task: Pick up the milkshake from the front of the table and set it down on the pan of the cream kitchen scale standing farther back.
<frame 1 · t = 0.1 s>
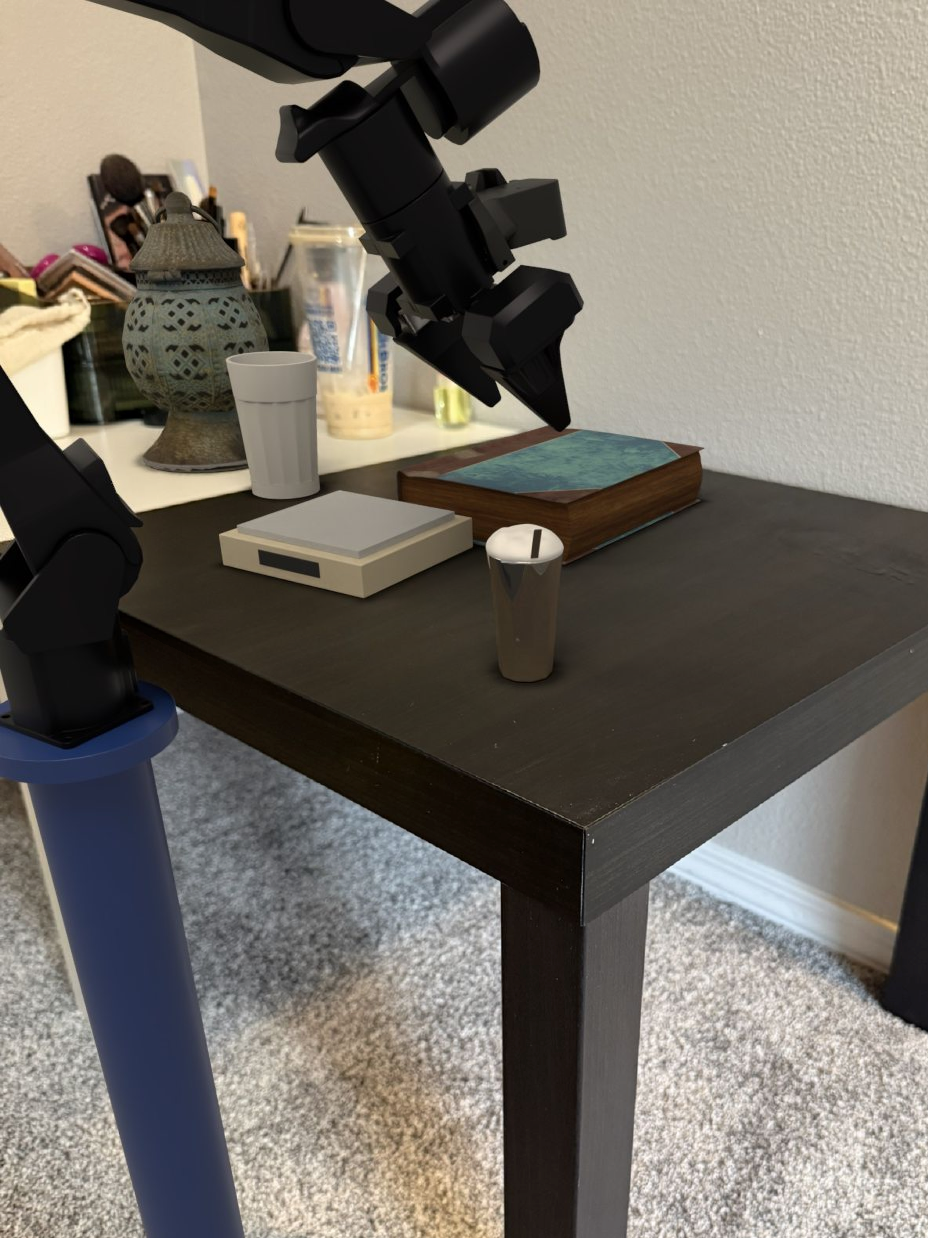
hand: (528, 414, 73), 13 cm above the table, tool tilted 30°, fingers open, 9 cm apart
scale: (351, 556, 87), on the table
milkshake: (527, 677, 67), on the table
lantern: (212, 457, 115), on the table
book: (557, 515, 98), on the table
cup: (286, 491, 104), on the table
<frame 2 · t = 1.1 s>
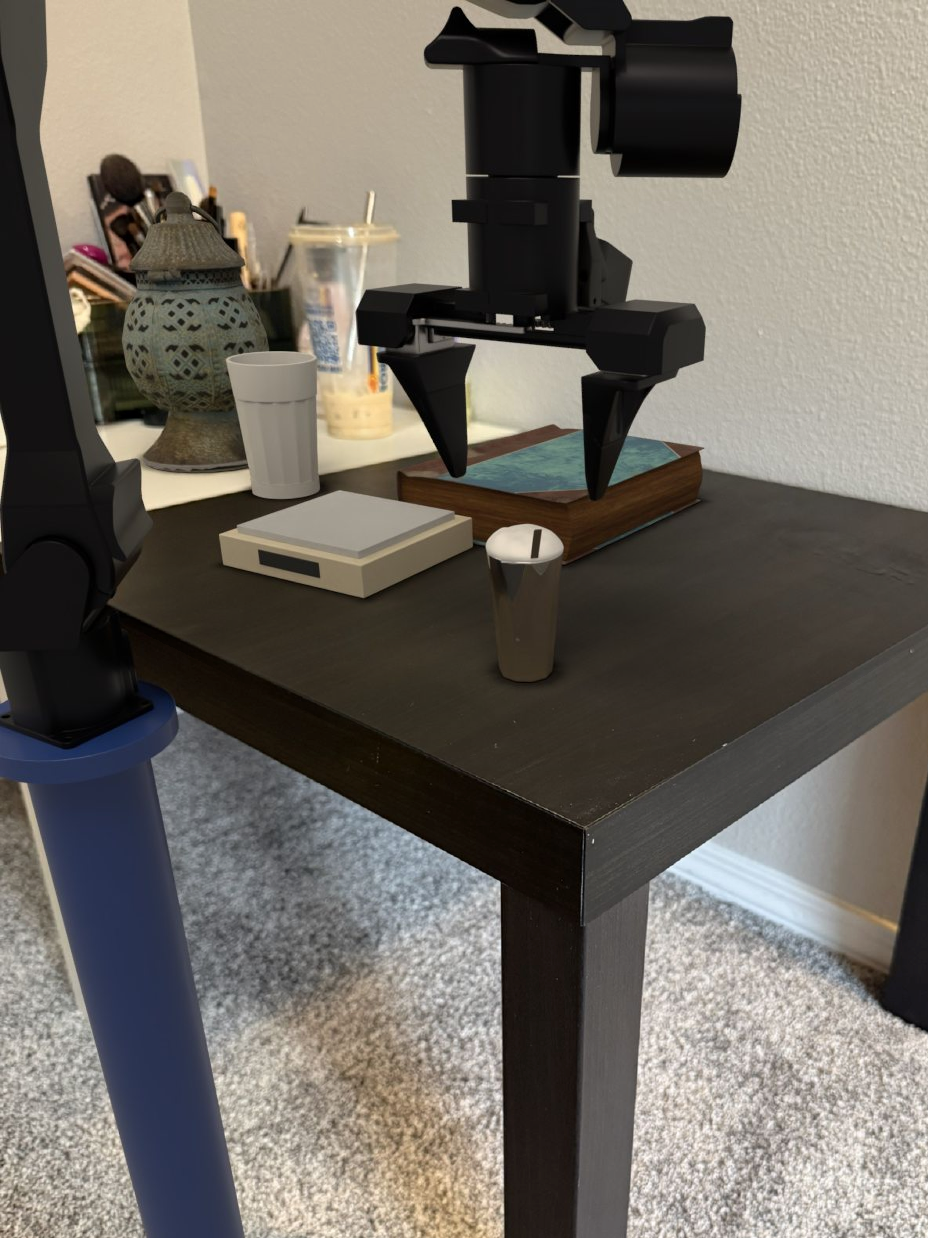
hand: (525, 487, 62), 12 cm above the table, tool pointing down, fingers open, 9 cm apart
nothing on the table moved.
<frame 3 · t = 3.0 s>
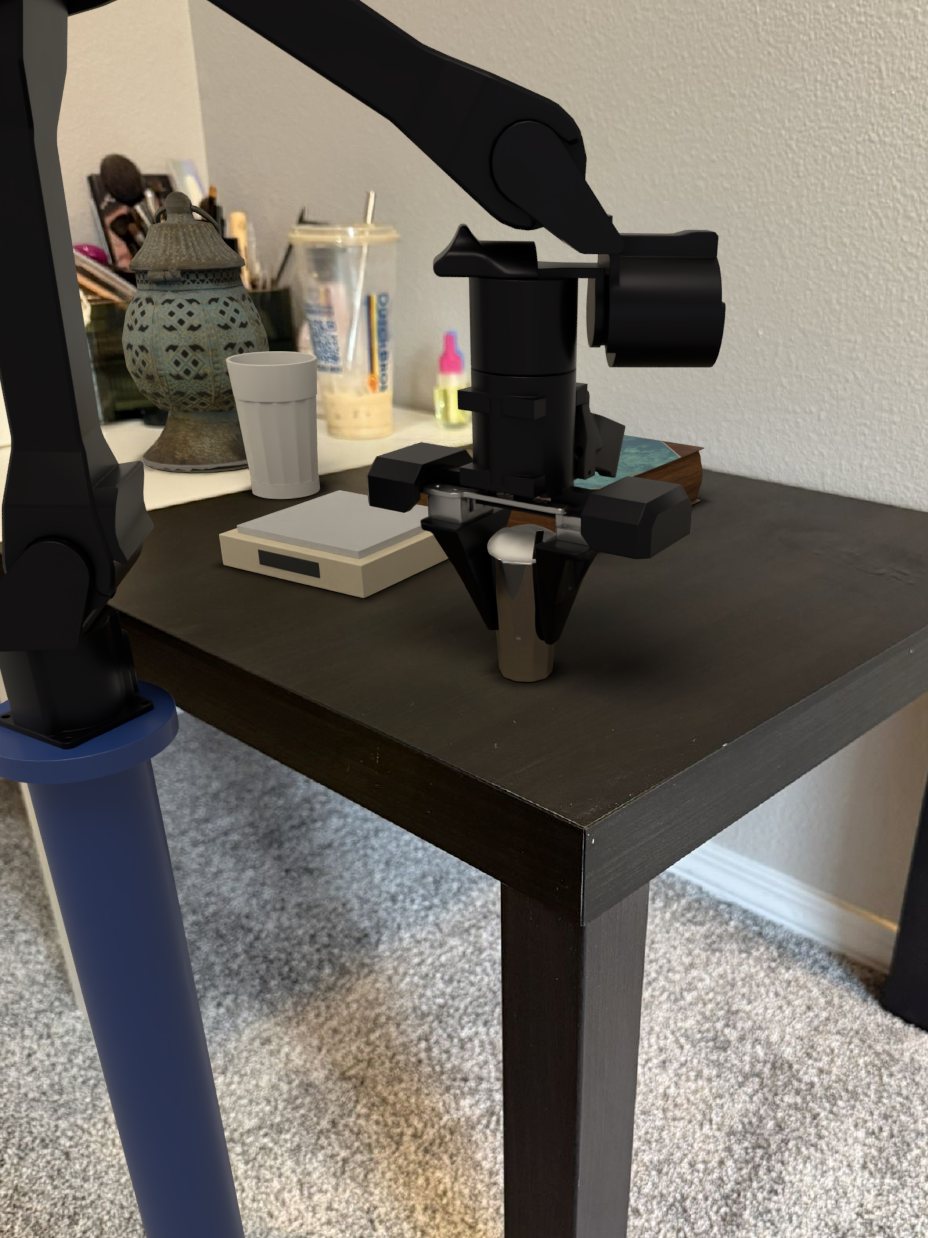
hand: (523, 635, 66), 3 cm above the table, tool pointing down, fingers closed on milkshake, 4 cm apart
milkshake: (527, 677, 67), on the table, touching gripper
everything else where it was.
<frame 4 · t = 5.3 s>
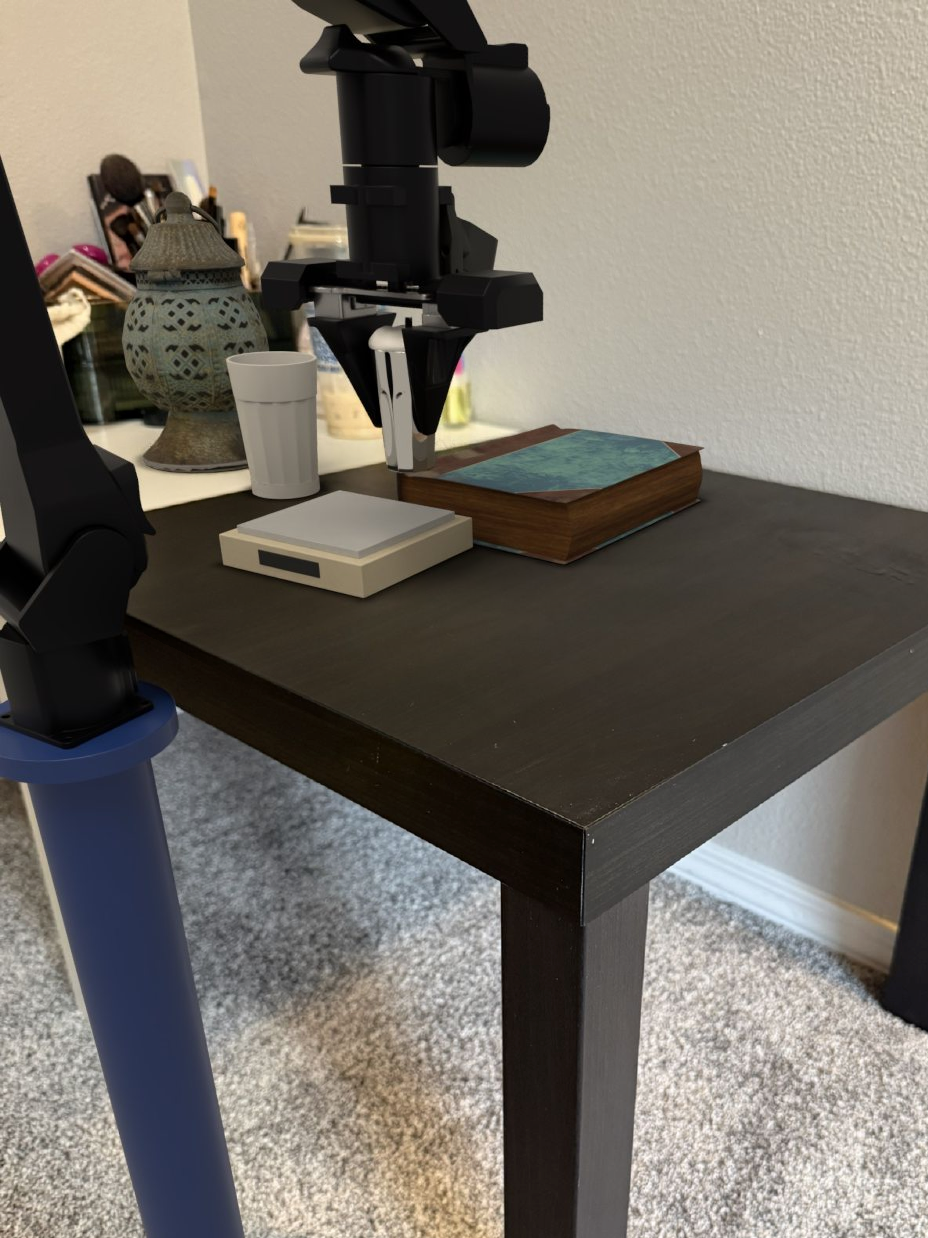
hand: (405, 430, 73), 12 cm above the table, tool pointing down, fingers closed on milkshake, 4 cm apart
milkshake: (411, 471, 74), point 9 cm above the table, touching gripper
everything else where it was.
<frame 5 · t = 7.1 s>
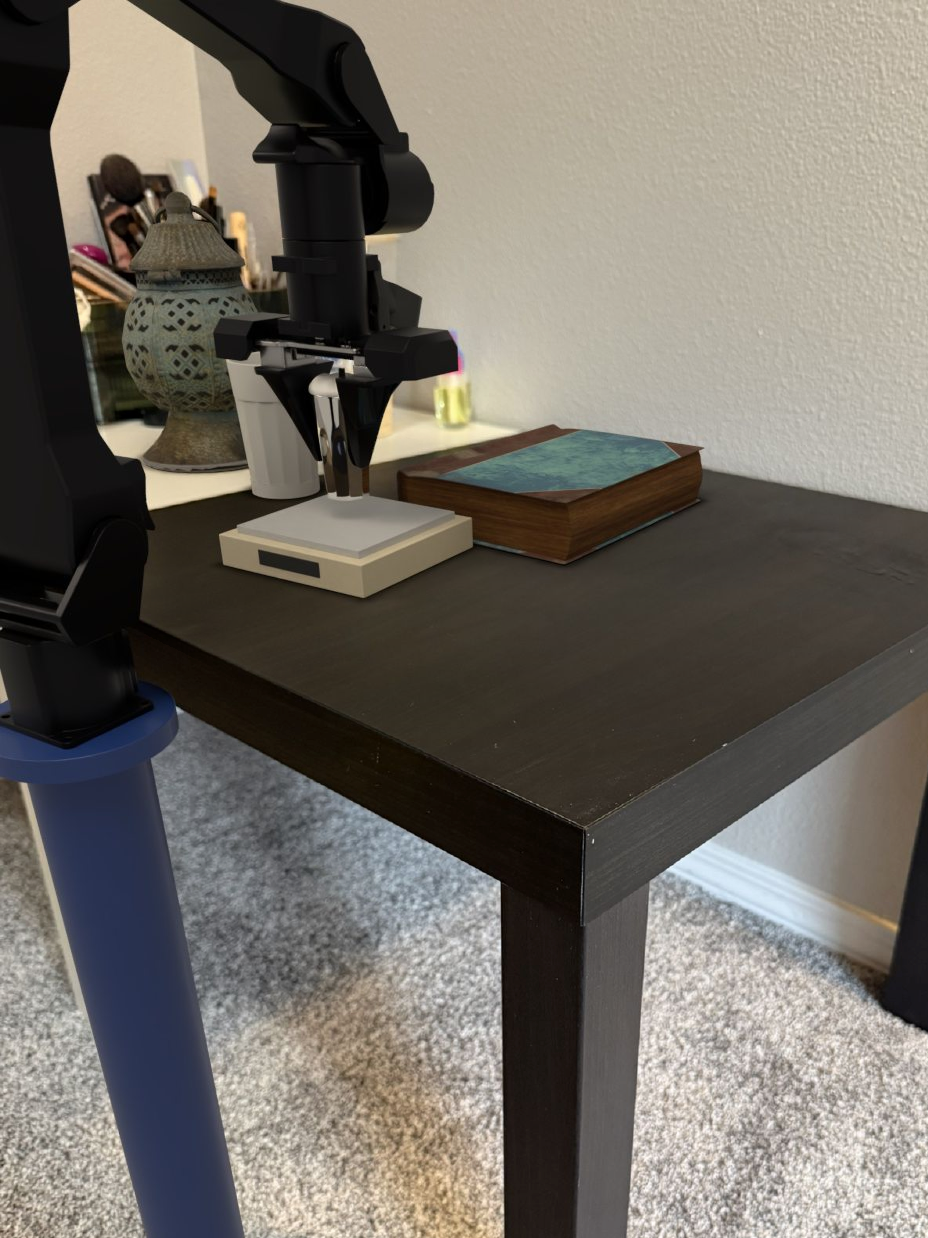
hand: (342, 463, 83), 7 cm above the table, tool pointing down, fingers closed on milkshake, 4 cm apart
milkshake: (349, 499, 84), point 5 cm above the table, touching gripper
everything else where it was.
when the fingers open (6 cm above the table, at t = 8.0 s): milkshake stays where it is, resting on scale.
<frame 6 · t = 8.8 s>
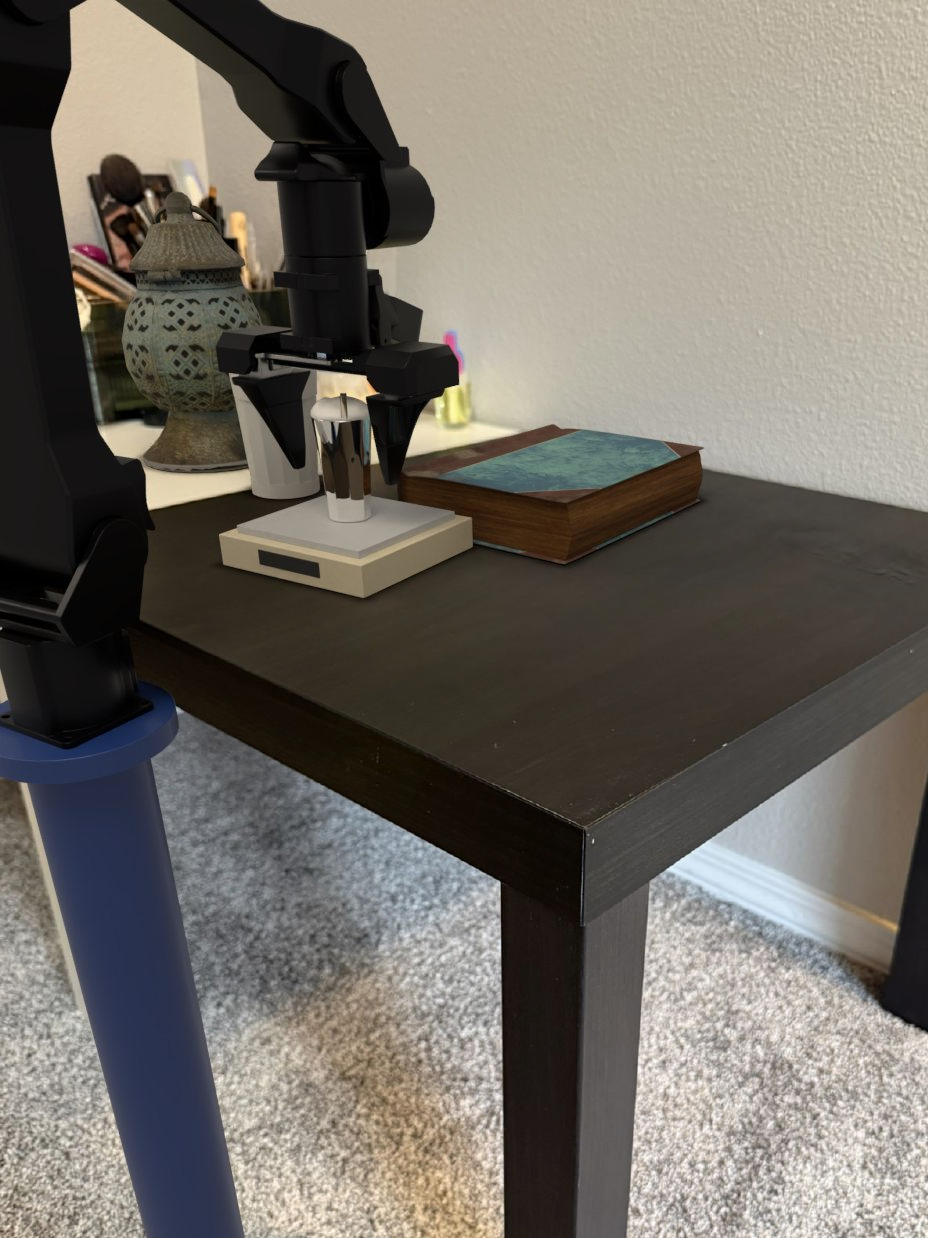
hand: (344, 476, 84), 6 cm above the table, tool pointing down, fingers open, 9 cm apart
milkshake: (350, 521, 85), point 3 cm above the table, touching scale
everything else where it was.
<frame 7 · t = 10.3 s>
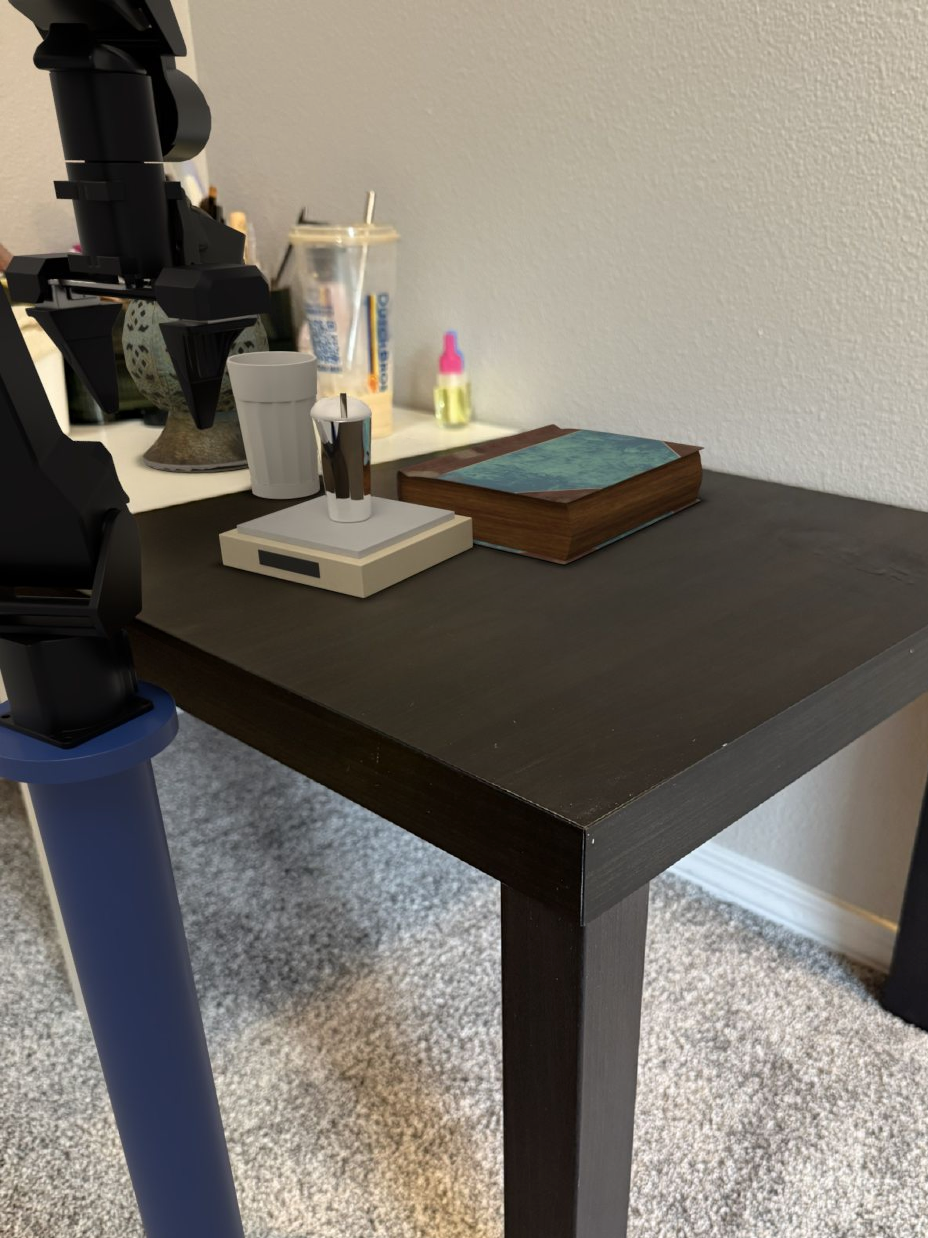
hand: (157, 420, 74), 12 cm above the table, tool pointing down, fingers open, 9 cm apart
nothing on the table moved.
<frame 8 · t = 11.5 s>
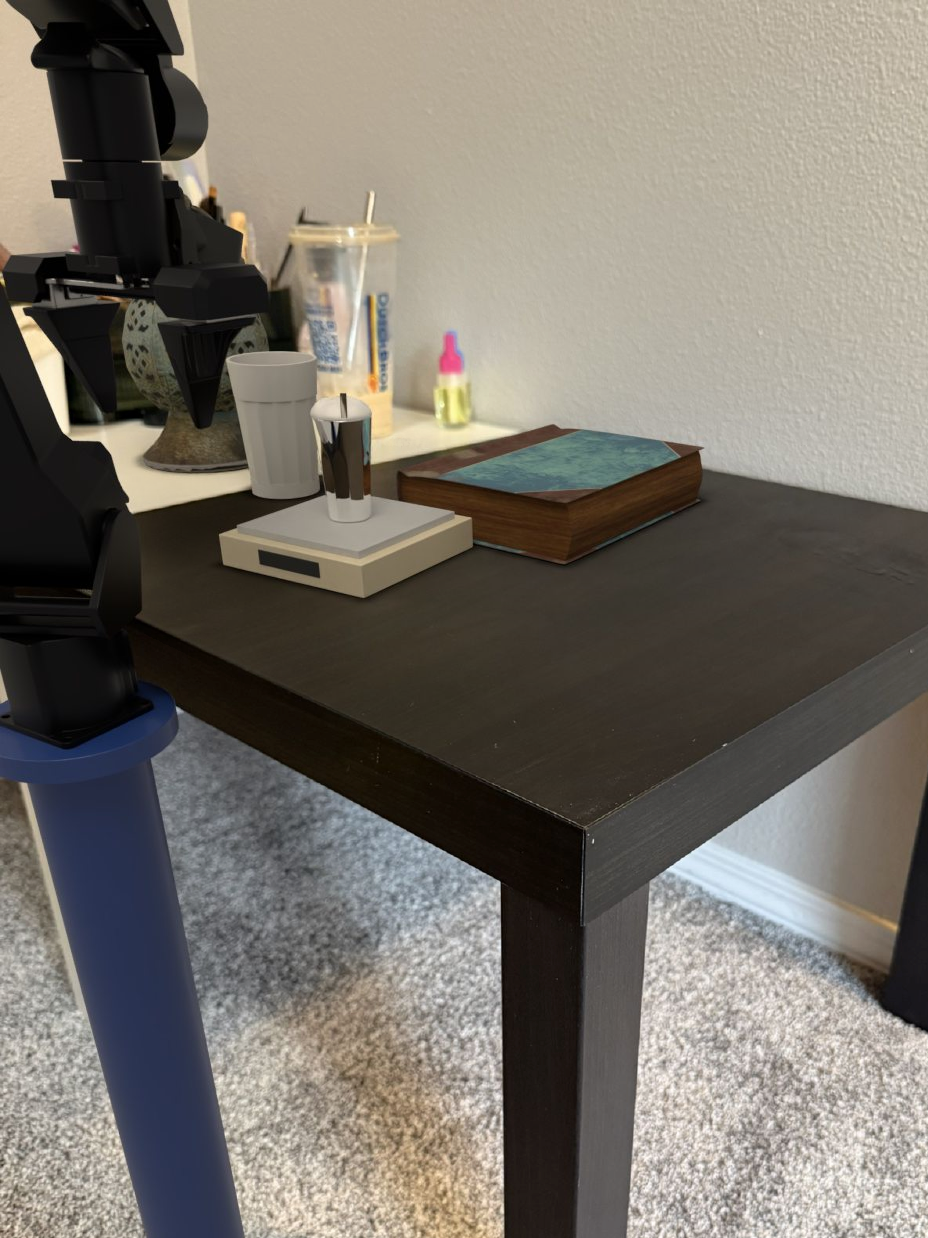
hand: (155, 420, 74), 12 cm above the table, tool pointing down, fingers open, 9 cm apart
nothing on the table moved.
at the end: milkshake inside the target area on the scale (0.3 cm from its centre), point 2.9 cm above the scale's base; milkshake tilted 0°; the gripper is holding nothing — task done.
